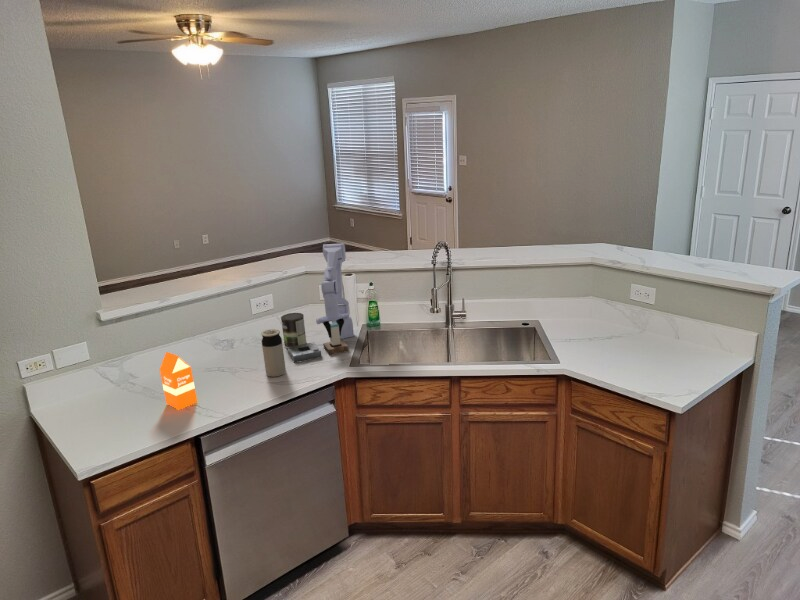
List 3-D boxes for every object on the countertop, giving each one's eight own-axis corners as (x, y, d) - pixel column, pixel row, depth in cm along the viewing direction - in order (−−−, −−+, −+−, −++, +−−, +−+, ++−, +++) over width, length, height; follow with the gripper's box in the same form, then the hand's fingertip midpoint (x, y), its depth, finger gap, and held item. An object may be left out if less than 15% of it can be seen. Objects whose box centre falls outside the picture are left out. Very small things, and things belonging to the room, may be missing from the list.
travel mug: (275, 378, 230) (269, 336, 225) (262, 374, 235) (256, 333, 229) (290, 371, 236) (284, 330, 231) (277, 367, 241) (271, 327, 235)
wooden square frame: (342, 344, 261) (342, 339, 261) (348, 351, 253) (348, 345, 253) (323, 348, 258) (323, 343, 258) (329, 355, 250) (328, 349, 250)
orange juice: (185, 396, 219) (175, 348, 213) (197, 402, 214) (188, 352, 208) (166, 404, 214) (156, 355, 208) (178, 411, 208) (168, 360, 202)
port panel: (314, 348, 259) (314, 341, 258) (321, 357, 249) (320, 350, 248) (288, 353, 255) (287, 346, 254) (294, 362, 245) (293, 355, 244)
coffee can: (287, 350, 259) (283, 321, 255) (282, 343, 268) (278, 315, 264) (309, 346, 263) (306, 317, 258) (303, 339, 272) (300, 311, 268)
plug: (338, 341, 257) (336, 322, 255) (340, 344, 254) (338, 324, 251) (330, 343, 256) (328, 324, 253) (332, 345, 253) (330, 326, 250)
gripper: (317, 312, 244) (321, 342, 248) (350, 306, 249) (353, 335, 253) (313, 308, 250) (317, 337, 254) (345, 302, 255) (348, 331, 259)
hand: (334, 336), depth 254 cm, fingers closed on plug, 4 cm apart
